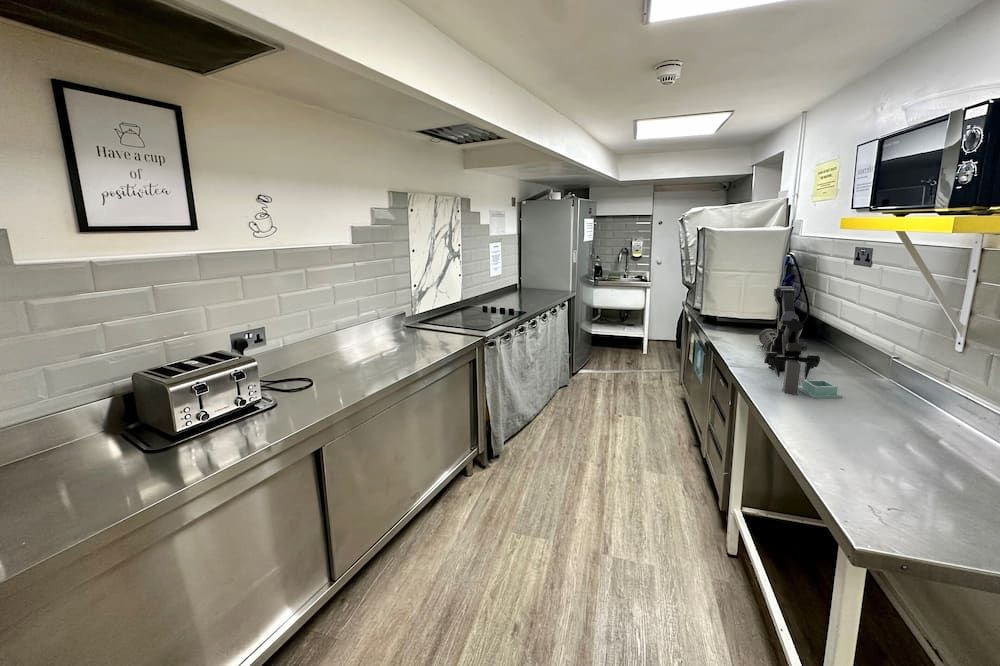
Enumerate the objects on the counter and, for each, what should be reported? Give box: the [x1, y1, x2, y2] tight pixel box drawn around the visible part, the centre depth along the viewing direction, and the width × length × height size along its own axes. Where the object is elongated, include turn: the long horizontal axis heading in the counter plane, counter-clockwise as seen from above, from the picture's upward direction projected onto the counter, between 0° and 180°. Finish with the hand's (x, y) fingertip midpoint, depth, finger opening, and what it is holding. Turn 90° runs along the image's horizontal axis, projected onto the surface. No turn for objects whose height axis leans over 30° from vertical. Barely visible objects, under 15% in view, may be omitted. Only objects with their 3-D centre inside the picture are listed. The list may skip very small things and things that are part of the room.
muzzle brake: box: [758, 328, 777, 353], centre depth 239 cm, size 10×28×10 cm, turn 158°
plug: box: [782, 360, 802, 395], centre depth 182 cm, size 4×4×13 cm
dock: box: [798, 379, 843, 399], centre depth 181 cm, size 11×11×4 cm
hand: (792, 377), depth 180 cm, fingers open, 9 cm apart
